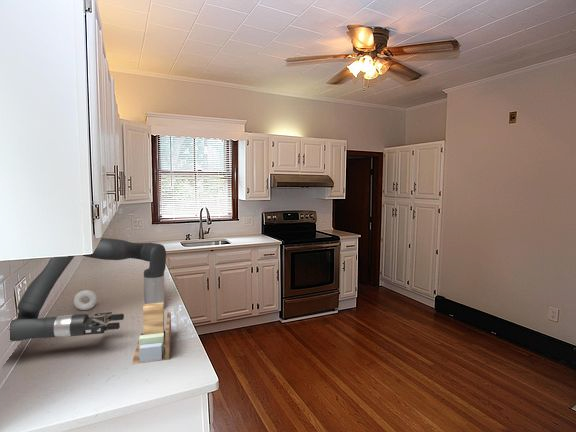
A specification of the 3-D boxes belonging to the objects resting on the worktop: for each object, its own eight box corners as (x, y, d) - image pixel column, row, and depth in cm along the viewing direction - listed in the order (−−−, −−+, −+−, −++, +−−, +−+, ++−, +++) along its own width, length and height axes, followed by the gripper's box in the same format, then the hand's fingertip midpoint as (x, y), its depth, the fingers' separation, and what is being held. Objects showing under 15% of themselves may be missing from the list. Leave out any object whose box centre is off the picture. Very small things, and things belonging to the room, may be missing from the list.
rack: (138, 342, 132) (138, 314, 131) (171, 338, 135) (170, 311, 134) (131, 367, 113) (130, 335, 112) (169, 362, 117) (168, 331, 116)
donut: (73, 312, 161) (72, 292, 160) (74, 310, 164) (73, 290, 163) (97, 309, 165) (96, 289, 164) (97, 307, 168) (97, 287, 167)
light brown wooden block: (144, 341, 130) (144, 303, 128) (164, 339, 132) (163, 302, 131) (143, 346, 126) (143, 307, 125) (163, 344, 128) (163, 305, 127)
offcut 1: (140, 354, 120) (140, 335, 120) (164, 351, 123) (163, 332, 122) (139, 358, 117) (138, 339, 117) (163, 355, 120) (163, 336, 119)
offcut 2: (140, 358, 117) (140, 345, 116) (162, 356, 119) (161, 342, 119) (139, 362, 115) (139, 348, 114) (161, 359, 117) (161, 345, 116)
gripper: (64, 323, 113) (118, 318, 118) (77, 308, 126) (124, 304, 131) (65, 344, 113) (118, 338, 118) (78, 327, 127) (125, 323, 132)
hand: (121, 320), depth 125 cm, fingers open, 8 cm apart
